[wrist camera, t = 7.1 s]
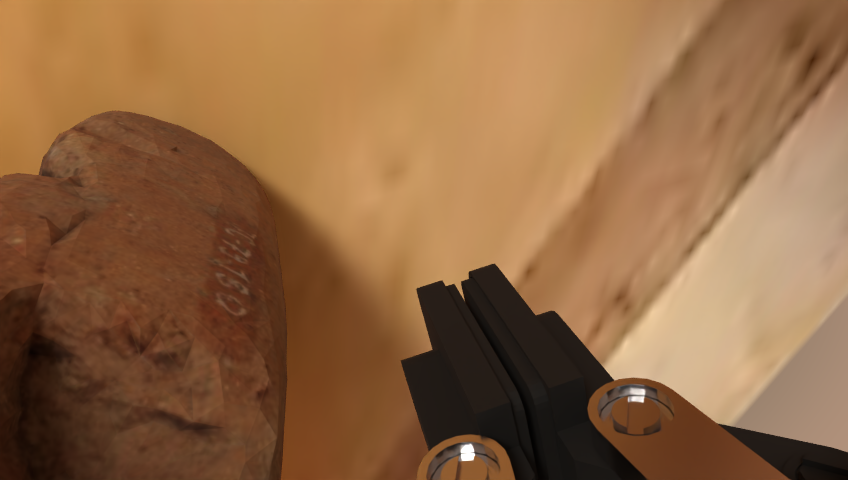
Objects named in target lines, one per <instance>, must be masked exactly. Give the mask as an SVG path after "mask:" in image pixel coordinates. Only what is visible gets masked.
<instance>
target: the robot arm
mask: <svg viewBox="0 0 848 480" xmlns="http://www.w3.org/2000/svg"><path fill="white" fill-rule="evenodd" d="M461 285H462V290H463V294H464V299H465V301H464V299H463V298H462V296H461V294H460V293H459V291H458V289H457V288H456V286H455V285H454V284H452V285H449V286H445V284H444V283H443V281H438V282H435V283H432V284H429V285H426V286H423V287H420V288H417V294H418V298H419V302H420V305H421V309H422V313H423V316H424V320H425V324H426V327H427V331H428V334H429V338H430V342H431V345H432V349H433V350H431V351H428V352H425V353H422V354H419V355H416V356H413V357H410V358H407V359H404V360H401V363H402V367H403V370H404V373H405V377H406V380H407V383H408V386H409V390H410V393H411V396H412V399H413V403H414V406H415V409H416V412H417V415H418V418H419V422H420V425H421V428H422V431H423V434H424V437H425V440H426V443H427V446H428V449H429V452H428V453H427V454H426V456H425V457H424V458H423V460H422V462H421V464H420V466H419V468H418V472H417V480H848V452H844V451H841V450H838V449H835V448H831V447H827V446H822V445H817V444H813V443H808V442H803V441H798V440H793V439H789V438H784V437H779V436H774V435H770V434H765V433H760V432H755V431H751V430H746V429H741V428H736V427H731V426H727V425H722V424H717V423H715V422H714V421H713V420H712V419H710V418H709V417H708V416H706V415H705V414H704V413H702V412H701V411H700V410H698V409H697V408H696V407H695V406H693V405H692V404H691V403H689V402H688V401H687V400H685V399H684V398H683V397H681V396H680V395H679V394H678V393H676V392H675V391H674V390H672V389H670V388H669V387H667V386H665V385H663V384H662V383H659V382H656V381H652V380H649V379H642V378H626V379H618V380H615V381H614V379H613V378H612V377H611V376H610V375H609V374H608V372H607V371H606V370H605V369H604V368H603V367H602V365H601V364H600V363H599V362H598V361H597V360H596V358H595V357H594V356H593V355H592V354H591V352H590V351H589V350H588V349H587V348H586V347H585V345H584V344H583V343H582V342H581V341H580V340H579V338H578V337H577V336H576V335H575V334H574V333H573V331H572V330H571V329H570V328H569V327H568V326H567V324H566V323H565V322H564V321H563V320H562V318H561V317H560V316H559V315H558V314H557V313H556V312H555V311H548V312H545V313H542V314H539V315H535V314H534V313H533V312H532V310H531V309H530V308H529V306H528V305H527V304H526V303H525V301H524V300H523V299H522V297H521V296H520V295H519V294H518V292H517V291H516V290H515V288H514V287H513V286H512V285H511V283H510V282H509V281H508V280H507V278H506V277H505V276H504V274H503V273H502V272H501V271H500V269H499V268H498V267H497V266H496V265H495V264H491V265H488V266H485V267H482V268H479V269H476V270H473V271H469V279H467V280H464V281H461Z"/></svg>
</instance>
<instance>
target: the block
mask: <svg viewBox="0 0 848 480" xmlns="http://www.w3.org/2000/svg"><path fill="white" fill-rule="evenodd" d="M286 354H287V325H286V308H285V299H284V293H283V286H282V273H281V267H280V259H279V250H278V243H277V235H276V228H275V221H274V217H273V213H272V209H271V206H270V204H269V201H268V199H267V197H266V194H265V192H264V190H263V189H262V187H261V186H260V184H259V183H258V181H257V180H256V179H255V177H254V176H253V175H252V174H251V173H250V172H249V170H248V169H247V168H246V167H245V166H244V165H243V164H242V163H241V162H239V161H238V160H237V159H236V158H234V157H233V156H232V155H230V154H229V153H228V152H226V151H225V150H224V149H222V148H221V147H220V146H218V145H217V144H215V143H214V142H212V141H211V140H209V139H207V138H204V137H202V136H200V135H198V134H196V133H194V132H192V131H190V130H187V129H185V128H183V127H181V126H178V125H174V124H171V123H168V122H165V121H161V120H158V119H155V118H152V117H149V116H145V115H140V114H135V113H131V112H122V111H109V112H105V113H101V114H98V115H94V116H91V117H90V118H88V119H86V120H84V121H83V122H81V123H79V124H77V125H75V126H74V127H72V128H71V129H69V130H68V131H65V132H63V133H61V134H59V135H58V136H57V138H56V139H55V141H54V142H53V144H52V145H51V147H50V149H49V150H48V152H47V153H46V155H45V156H44V157H43V160H42V164H41V168H40V172H39V175H31V174H20V173H17V174H11V175H4V176H3V177H2V178H0V480H281V469H282V457H283V437H284V420H285V404H286V388H287V367H286Z"/></svg>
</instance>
